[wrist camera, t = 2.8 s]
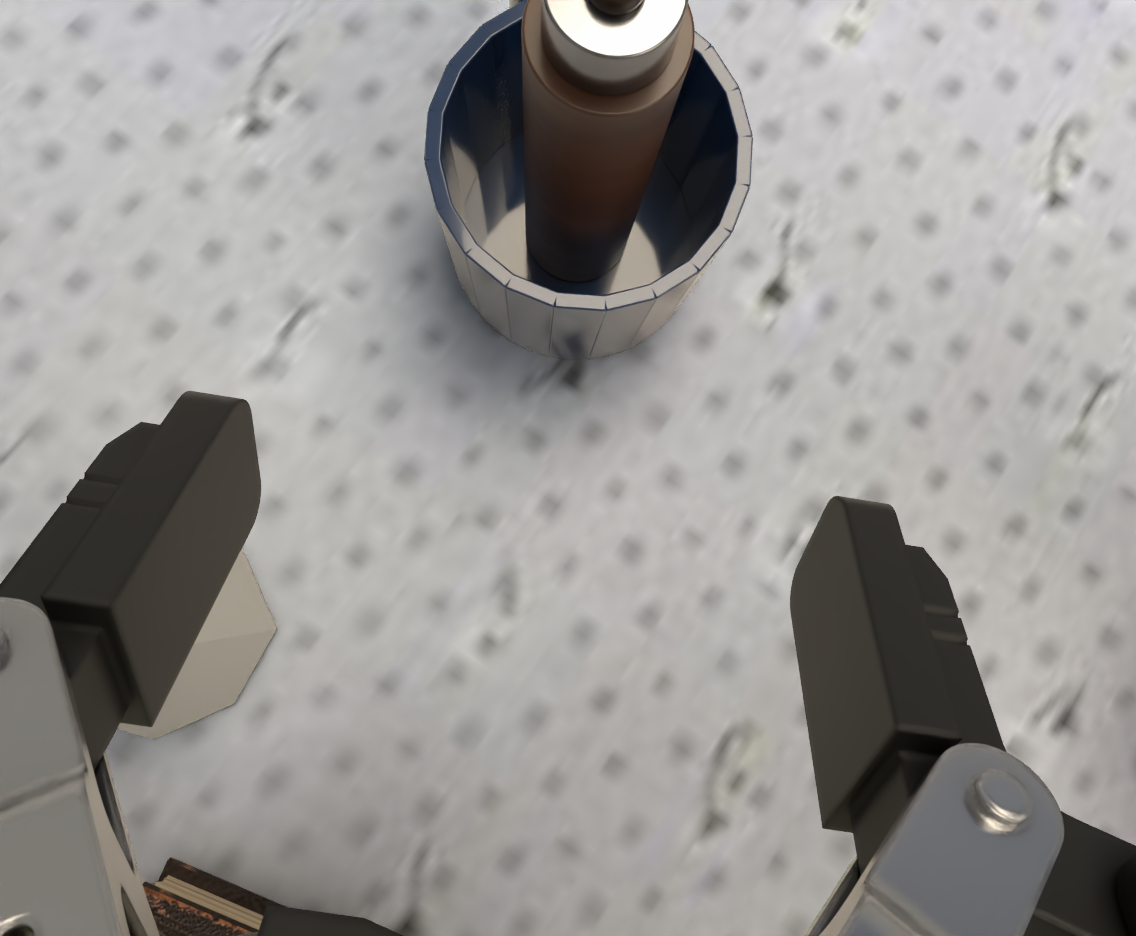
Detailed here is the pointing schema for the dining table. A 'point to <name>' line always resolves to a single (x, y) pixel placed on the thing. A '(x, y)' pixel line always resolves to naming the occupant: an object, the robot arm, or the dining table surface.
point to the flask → (218, 655)
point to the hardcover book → (202, 904)
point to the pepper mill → (595, 121)
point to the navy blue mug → (497, 201)
